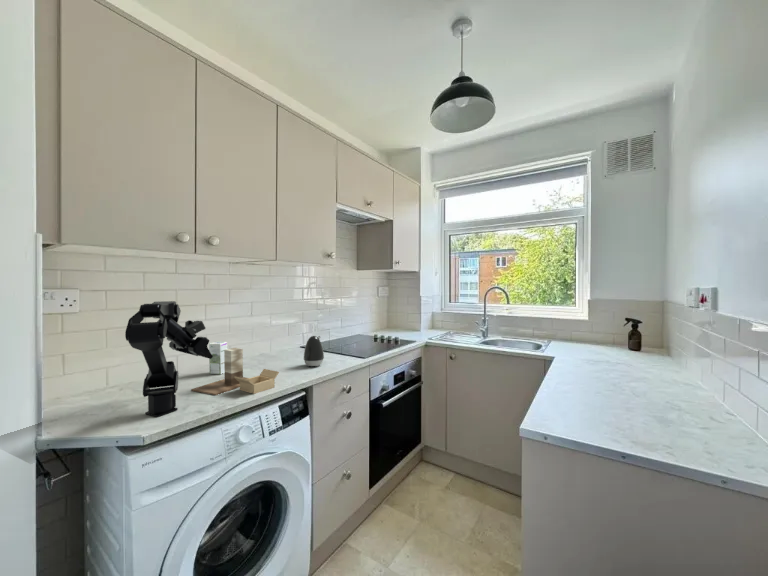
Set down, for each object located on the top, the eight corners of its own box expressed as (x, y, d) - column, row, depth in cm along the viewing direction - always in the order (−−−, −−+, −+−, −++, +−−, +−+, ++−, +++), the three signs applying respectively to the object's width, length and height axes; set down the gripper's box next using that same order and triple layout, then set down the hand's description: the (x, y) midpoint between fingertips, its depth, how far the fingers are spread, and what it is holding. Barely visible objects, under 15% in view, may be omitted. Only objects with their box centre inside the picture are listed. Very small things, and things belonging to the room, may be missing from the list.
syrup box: (228, 371, 151) (227, 341, 151) (220, 374, 145) (220, 343, 145) (216, 371, 152) (216, 341, 152) (208, 374, 146) (208, 343, 146)
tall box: (231, 385, 127) (231, 351, 127) (224, 383, 130) (224, 349, 130) (243, 382, 131) (242, 348, 131) (236, 380, 134) (235, 347, 134)
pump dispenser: (328, 364, 164) (327, 334, 164) (316, 369, 154) (315, 337, 154) (312, 362, 168) (311, 333, 168) (299, 367, 159) (299, 336, 159)
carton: (248, 395, 117) (248, 380, 117) (234, 391, 122) (233, 376, 122) (279, 385, 128) (279, 371, 128) (264, 382, 133) (264, 368, 133)
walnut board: (216, 395, 117) (216, 393, 117) (191, 390, 123) (191, 389, 123) (258, 380, 136) (258, 379, 136) (234, 377, 141) (234, 375, 141)
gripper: (203, 315, 112) (233, 341, 122) (177, 313, 122) (206, 337, 132) (179, 340, 106) (212, 366, 115) (154, 336, 116) (186, 360, 125)
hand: (205, 356), depth 122 cm, fingers open, 9 cm apart
